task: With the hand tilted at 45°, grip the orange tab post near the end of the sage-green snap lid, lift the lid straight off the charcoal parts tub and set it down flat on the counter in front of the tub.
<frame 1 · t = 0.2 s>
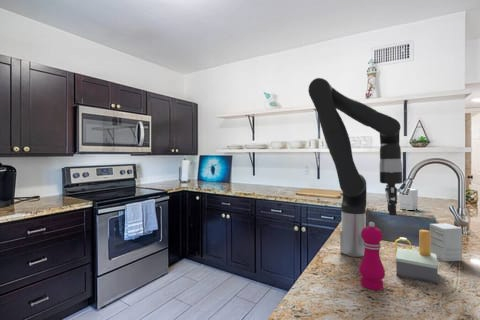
hand: (391, 213, 99), 18 cm above the worktop, tool pointing down, fingers open, 8 cm apart
watch: (403, 252, 108), on the worktop
parts tub: (416, 273, 89), on the worktop
lid: (416, 261, 89), point 4 cm above the worktop, touching parts tub
supplement box: (445, 258, 102), on the worktop
pepper mill: (371, 285, 81), on the worktop
supplement box 2: (408, 209, 187), on the worktop
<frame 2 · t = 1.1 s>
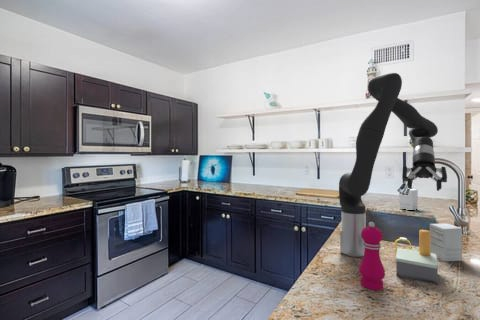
hand: (424, 188, 99), 28 cm above the worktop, tool tilted 45°, fingers open, 8 cm apart
nothing on the worktop moved.
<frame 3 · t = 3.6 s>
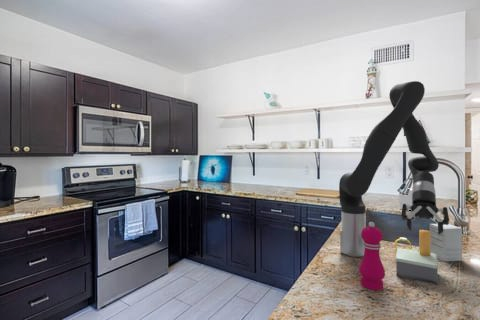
hand: (424, 231, 93), 13 cm above the worktop, tool tilted 45°, fingers open, 8 cm apart
nothing on the worktop moved.
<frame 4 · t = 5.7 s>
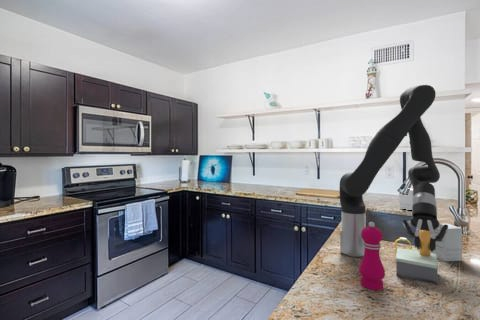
hand: (425, 249, 88), 8 cm above the worktop, tool tilted 45°, fingers closed on lid, 3 cm apart
lid: (416, 261, 89), point 4 cm above the worktop, touching gripper, parts tub
everything else where it was.
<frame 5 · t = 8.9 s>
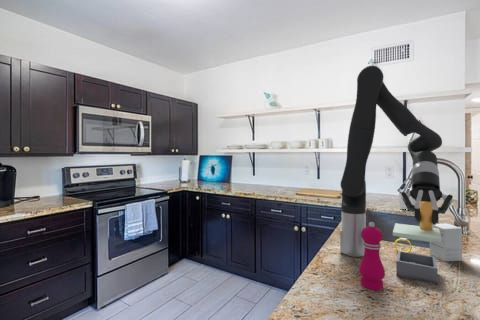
hand: (426, 222, 77), 21 cm above the worktop, tool tilted 45°, fingers closed on lid, 3 cm apart
lid: (416, 236, 78), point 16 cm above the worktop, touching gripper
everything else where it was.
when the fingers open (6 cm above the worktop, at t = 11.9 s): lid drops 2 cm, on the worktop.
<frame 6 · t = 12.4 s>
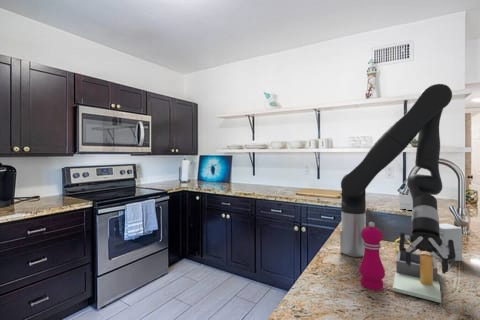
hand: (426, 269, 78), 6 cm above the worktop, tool tilted 45°, fingers open, 8 cm apart
lid: (416, 290, 78), on the worktop
everything else where it was.
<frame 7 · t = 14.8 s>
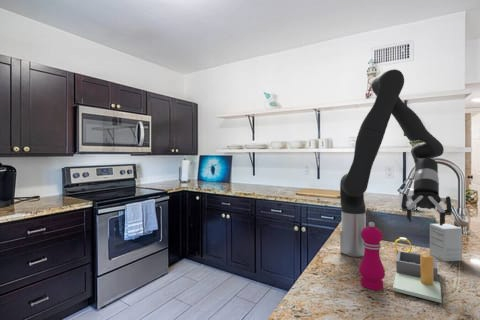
hand: (425, 222, 88), 18 cm above the worktop, tool tilted 40°, fingers open, 8 cm apart
nothing on the worktop moved.
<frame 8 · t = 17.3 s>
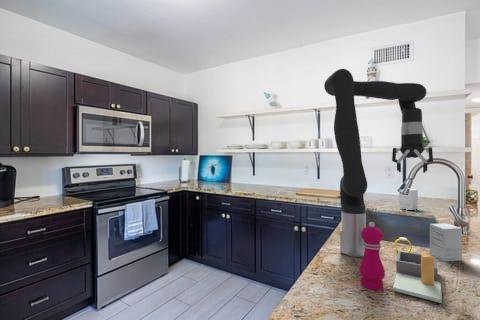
hand: (411, 172, 109), 33 cm above the worktop, tool pointing down, fingers open, 8 cm apart
nothing on the worktop moved.
at the end: lid inside the target area (0.2 cm from its centre), on the worktop; lid tilted 0°; the gripper is holding nothing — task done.
